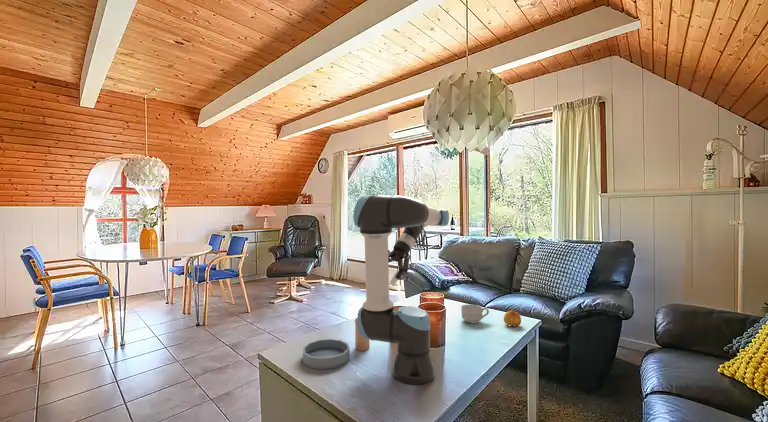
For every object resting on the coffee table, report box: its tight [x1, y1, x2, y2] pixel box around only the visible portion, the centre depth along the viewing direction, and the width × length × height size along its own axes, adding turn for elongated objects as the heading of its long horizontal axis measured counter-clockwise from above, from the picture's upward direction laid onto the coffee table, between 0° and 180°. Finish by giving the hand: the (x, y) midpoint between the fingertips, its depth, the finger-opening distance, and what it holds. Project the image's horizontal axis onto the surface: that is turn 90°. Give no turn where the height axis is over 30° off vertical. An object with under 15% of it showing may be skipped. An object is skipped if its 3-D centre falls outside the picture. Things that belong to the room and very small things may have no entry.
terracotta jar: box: [354, 318, 370, 352], centre depth 148 cm, size 7×7×12 cm
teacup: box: [460, 304, 490, 323], centre depth 181 cm, size 14×11×8 cm
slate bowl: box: [302, 338, 351, 370], centre depth 138 cm, size 18×18×4 cm
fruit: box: [503, 309, 522, 327], centre depth 176 cm, size 8×8×8 cm
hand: (380, 281), depth 155 cm, fingers open, 13 cm apart
